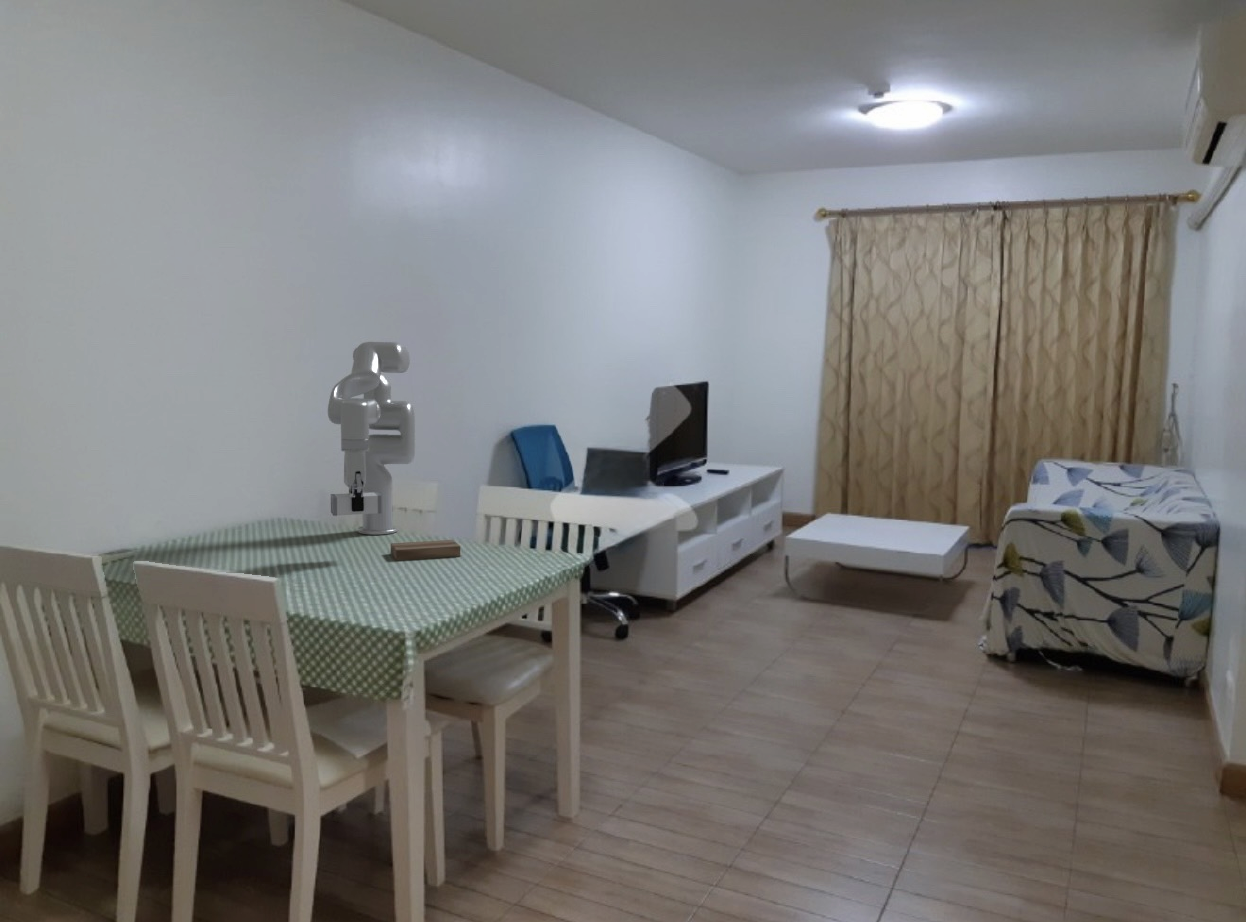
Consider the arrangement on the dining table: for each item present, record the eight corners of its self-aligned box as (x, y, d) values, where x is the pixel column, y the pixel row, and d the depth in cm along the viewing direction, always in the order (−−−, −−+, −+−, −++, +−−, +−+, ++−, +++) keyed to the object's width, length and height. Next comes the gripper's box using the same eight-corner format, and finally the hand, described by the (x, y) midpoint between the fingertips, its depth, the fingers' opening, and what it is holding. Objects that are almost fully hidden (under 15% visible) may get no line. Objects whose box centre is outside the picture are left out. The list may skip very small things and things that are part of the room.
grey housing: (330, 512, 270) (330, 494, 269) (378, 509, 275) (377, 492, 274) (333, 515, 264) (333, 497, 264) (381, 513, 269) (381, 495, 269)
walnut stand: (390, 553, 277) (390, 543, 277) (452, 549, 284) (452, 539, 284) (396, 560, 268) (396, 550, 268) (460, 556, 275) (460, 546, 275)
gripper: (337, 442, 274) (338, 504, 276) (345, 449, 258) (346, 515, 260) (364, 441, 277) (365, 503, 279) (373, 448, 261) (374, 513, 263)
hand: (356, 508), depth 269 cm, fingers closed on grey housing, 6 cm apart
